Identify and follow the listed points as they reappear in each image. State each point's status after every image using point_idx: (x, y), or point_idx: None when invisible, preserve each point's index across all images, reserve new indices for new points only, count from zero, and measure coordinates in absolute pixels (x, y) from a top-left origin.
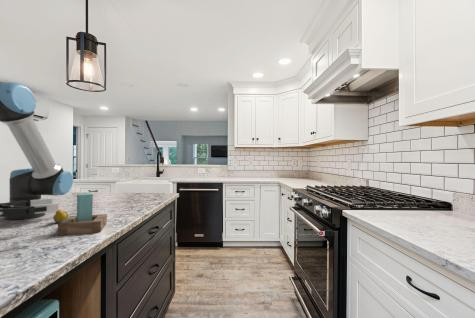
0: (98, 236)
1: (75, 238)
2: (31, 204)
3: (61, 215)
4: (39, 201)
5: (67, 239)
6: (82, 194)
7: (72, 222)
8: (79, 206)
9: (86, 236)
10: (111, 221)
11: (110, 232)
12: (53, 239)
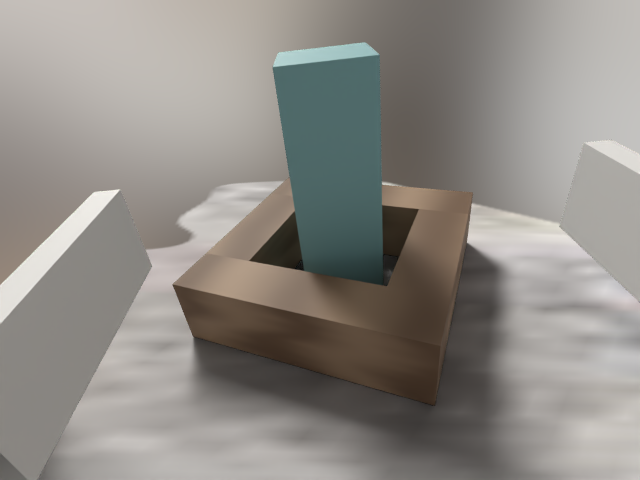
0: (558, 251)
1: (571, 326)
2: (7, 437)
3: None
4: (55, 302)
5: (586, 361)
6: (330, 55)
7: (419, 276)
8: (378, 155)
9: (539, 285)
10: None
11: (493, 219)
12: (560, 436)
